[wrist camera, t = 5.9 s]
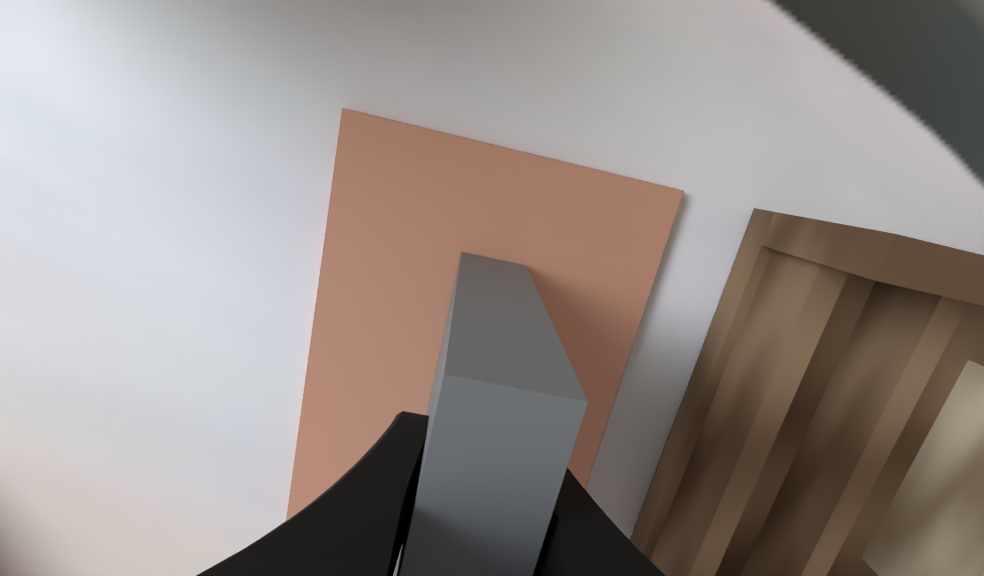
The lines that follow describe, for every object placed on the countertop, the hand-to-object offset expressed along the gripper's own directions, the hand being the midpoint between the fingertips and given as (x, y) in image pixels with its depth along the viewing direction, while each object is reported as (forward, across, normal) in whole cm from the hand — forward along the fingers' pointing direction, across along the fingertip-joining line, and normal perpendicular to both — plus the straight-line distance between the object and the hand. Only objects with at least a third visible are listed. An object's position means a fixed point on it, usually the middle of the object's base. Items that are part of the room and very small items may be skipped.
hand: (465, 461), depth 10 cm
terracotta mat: (+5, 0, 0) cm, 5 cm away
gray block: (+5, 0, 0) cm, 5 cm away
